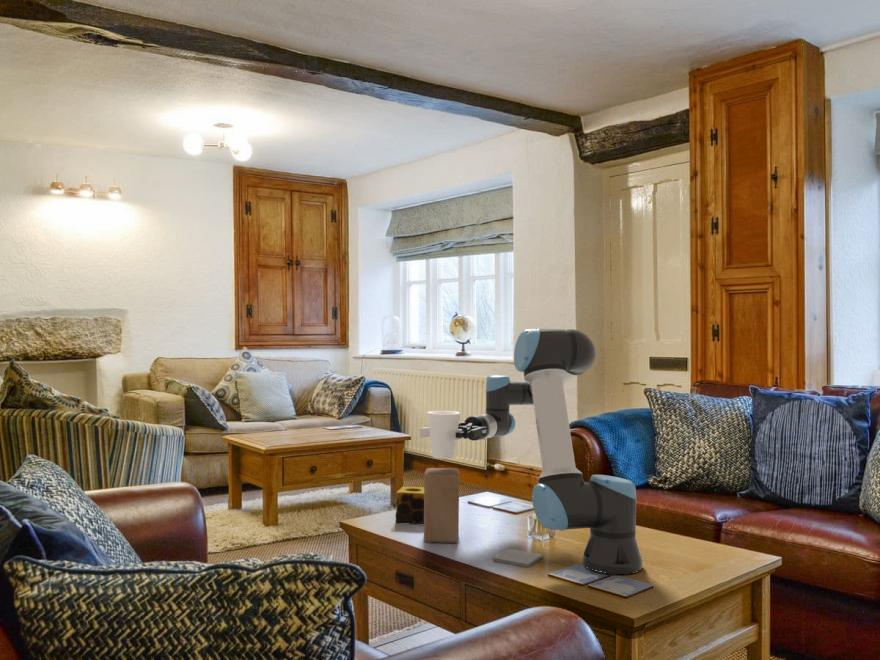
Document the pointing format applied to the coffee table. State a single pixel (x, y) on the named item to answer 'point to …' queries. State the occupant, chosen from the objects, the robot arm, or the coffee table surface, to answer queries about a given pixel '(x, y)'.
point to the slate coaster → (518, 557)
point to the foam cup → (442, 432)
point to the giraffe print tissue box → (410, 505)
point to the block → (441, 505)
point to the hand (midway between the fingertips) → (433, 434)
